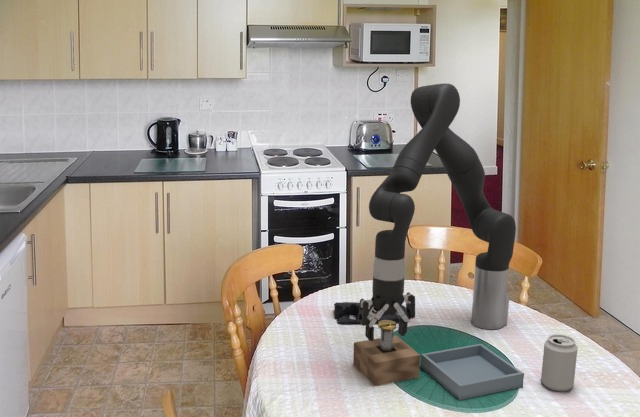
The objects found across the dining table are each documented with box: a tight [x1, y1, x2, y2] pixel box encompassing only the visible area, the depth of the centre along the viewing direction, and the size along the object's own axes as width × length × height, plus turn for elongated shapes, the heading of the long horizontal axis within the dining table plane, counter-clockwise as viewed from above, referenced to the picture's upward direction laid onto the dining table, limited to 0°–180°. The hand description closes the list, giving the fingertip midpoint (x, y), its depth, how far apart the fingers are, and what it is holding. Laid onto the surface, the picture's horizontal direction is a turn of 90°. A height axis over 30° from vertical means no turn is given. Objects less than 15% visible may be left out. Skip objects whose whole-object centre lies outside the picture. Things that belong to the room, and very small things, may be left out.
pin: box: [377, 320, 397, 353], centre depth 178 cm, size 4×4×13 cm
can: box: [540, 333, 579, 392], centre depth 172 cm, size 8×8×12 cm
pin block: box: [352, 335, 421, 387], centre depth 179 cm, size 12×12×6 cm
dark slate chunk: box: [333, 301, 406, 325], centre depth 213 cm, size 15×22×5 cm
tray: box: [420, 343, 525, 401], centre depth 177 cm, size 18×18×4 cm
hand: (385, 337), depth 177 cm, fingers open, 8 cm apart
